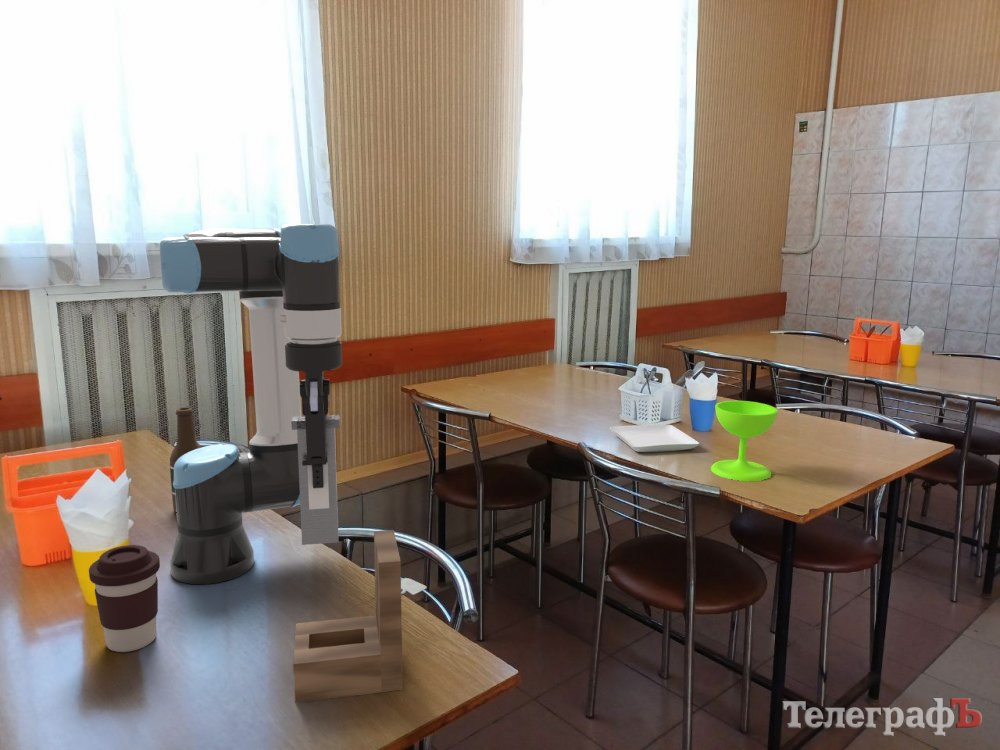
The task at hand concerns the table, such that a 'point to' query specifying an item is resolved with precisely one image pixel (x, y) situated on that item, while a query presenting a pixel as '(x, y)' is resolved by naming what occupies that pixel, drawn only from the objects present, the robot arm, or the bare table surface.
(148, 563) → the coffee cup
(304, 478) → the rail
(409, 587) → the mounting bracket
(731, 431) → the wineglass
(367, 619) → the slotted wooden l-bracket
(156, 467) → the table surface
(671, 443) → the salad plate
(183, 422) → the beer bottle
